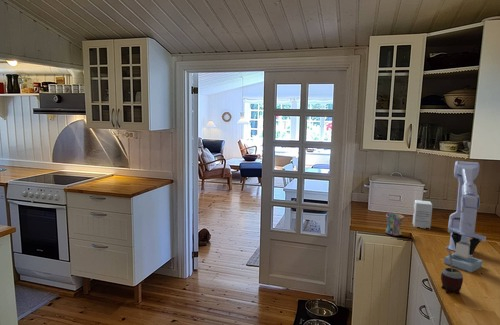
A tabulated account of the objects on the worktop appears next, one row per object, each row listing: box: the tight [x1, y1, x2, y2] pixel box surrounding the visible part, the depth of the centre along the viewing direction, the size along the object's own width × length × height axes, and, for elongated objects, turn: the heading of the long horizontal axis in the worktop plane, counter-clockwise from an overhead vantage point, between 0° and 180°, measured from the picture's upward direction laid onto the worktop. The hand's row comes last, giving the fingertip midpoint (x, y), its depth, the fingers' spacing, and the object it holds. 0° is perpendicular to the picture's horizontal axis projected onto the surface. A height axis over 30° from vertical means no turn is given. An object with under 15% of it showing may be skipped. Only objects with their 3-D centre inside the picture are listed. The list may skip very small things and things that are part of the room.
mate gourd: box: [440, 246, 464, 295], centre depth 128 cm, size 8×8×15 cm
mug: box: [385, 212, 405, 237], centre depth 190 cm, size 12×9×11 cm
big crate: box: [443, 252, 484, 274], centre depth 152 cm, size 11×11×3 cm
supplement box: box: [412, 199, 433, 230], centre depth 207 cm, size 9×9×15 cm
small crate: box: [454, 241, 473, 260], centre depth 151 cm, size 5×5×6 cm
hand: (464, 252), depth 151 cm, fingers closed on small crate, 5 cm apart
